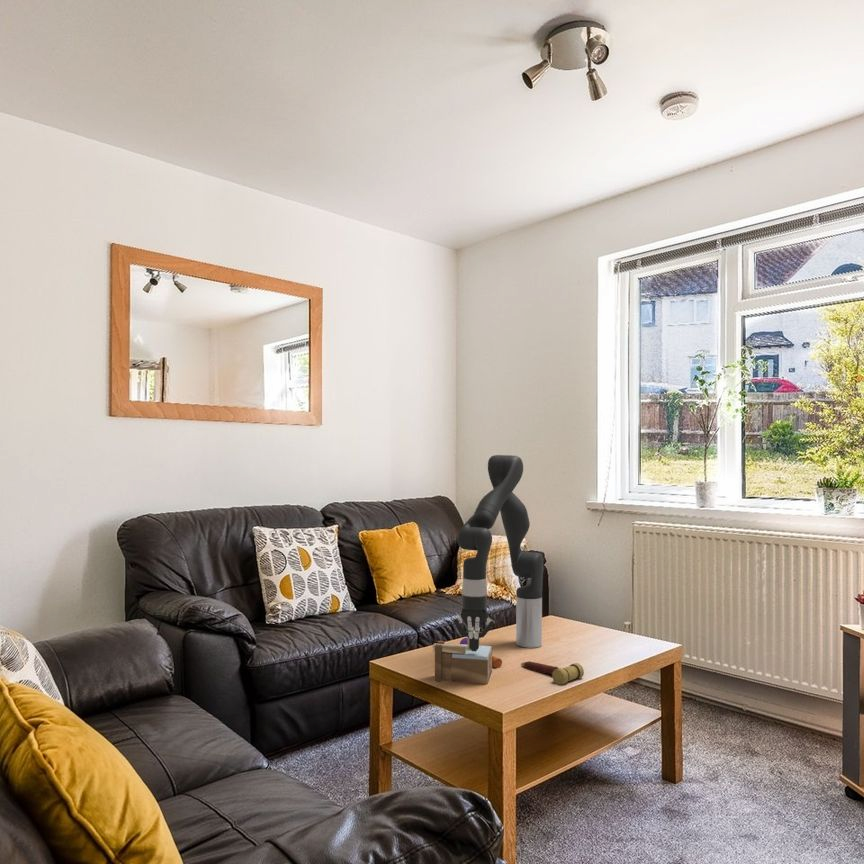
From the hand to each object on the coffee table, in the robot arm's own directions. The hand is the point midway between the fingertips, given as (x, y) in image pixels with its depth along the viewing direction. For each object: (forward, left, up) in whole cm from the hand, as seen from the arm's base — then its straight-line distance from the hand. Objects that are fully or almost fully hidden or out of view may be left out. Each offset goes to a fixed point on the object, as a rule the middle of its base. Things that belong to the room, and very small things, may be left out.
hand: (474, 650), depth 203 cm
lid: (-4, -1, -3) cm, 5 cm away
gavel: (-12, +21, -10) cm, 27 cm away
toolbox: (-4, -4, -9) cm, 11 cm away
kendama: (-22, -1, -10) cm, 24 cm away
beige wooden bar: (0, -8, -1) cm, 8 cm away
